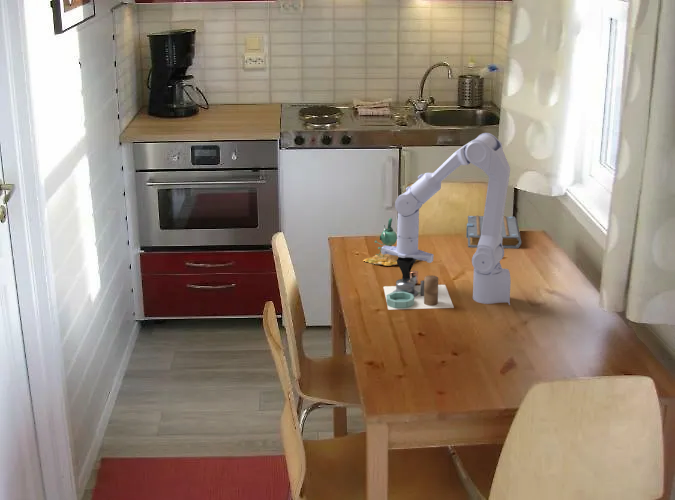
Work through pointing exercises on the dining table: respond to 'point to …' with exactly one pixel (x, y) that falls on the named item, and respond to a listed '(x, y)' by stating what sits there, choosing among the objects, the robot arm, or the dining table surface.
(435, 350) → the dining table surface
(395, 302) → the socket
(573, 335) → the dining table surface
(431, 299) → the pin
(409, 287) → the grey ball-ended lever
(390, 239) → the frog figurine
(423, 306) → the board
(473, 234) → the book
